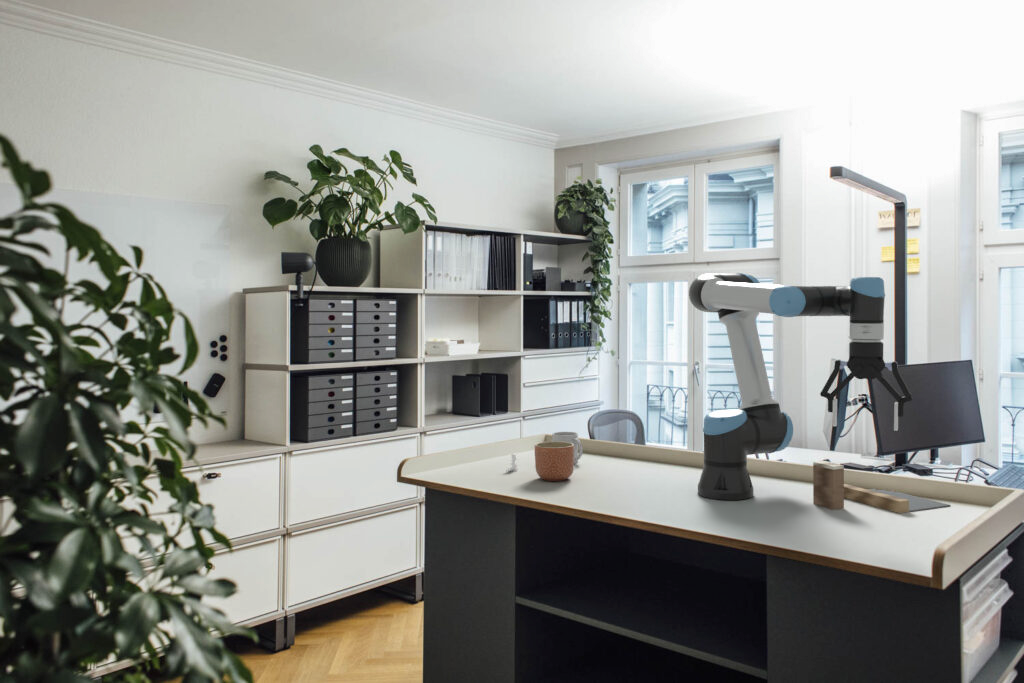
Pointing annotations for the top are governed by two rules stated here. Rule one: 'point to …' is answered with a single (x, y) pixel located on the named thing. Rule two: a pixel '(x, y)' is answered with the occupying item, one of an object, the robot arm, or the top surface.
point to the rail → (876, 499)
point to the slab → (828, 485)
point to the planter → (554, 460)
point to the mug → (571, 438)
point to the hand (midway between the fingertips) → (864, 427)
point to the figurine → (513, 464)
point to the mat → (914, 500)
